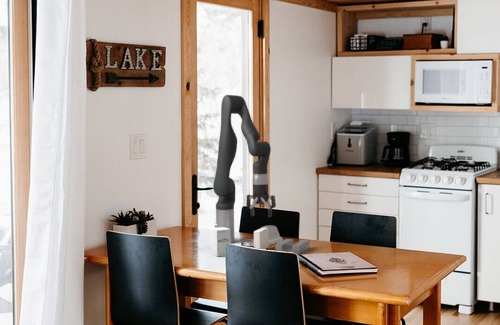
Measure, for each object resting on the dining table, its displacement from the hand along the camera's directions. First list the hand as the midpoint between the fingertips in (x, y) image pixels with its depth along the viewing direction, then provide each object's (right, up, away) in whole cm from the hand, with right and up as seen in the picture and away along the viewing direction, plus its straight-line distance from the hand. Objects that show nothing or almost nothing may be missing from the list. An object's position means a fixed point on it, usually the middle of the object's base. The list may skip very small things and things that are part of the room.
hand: (261, 216), depth 386 cm
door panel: (0, -16, +1) cm, 17 cm away
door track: (+15, -16, -2) cm, 22 cm away
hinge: (+4, -15, +19) cm, 25 cm away
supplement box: (-19, -18, -9) cm, 28 cm away
